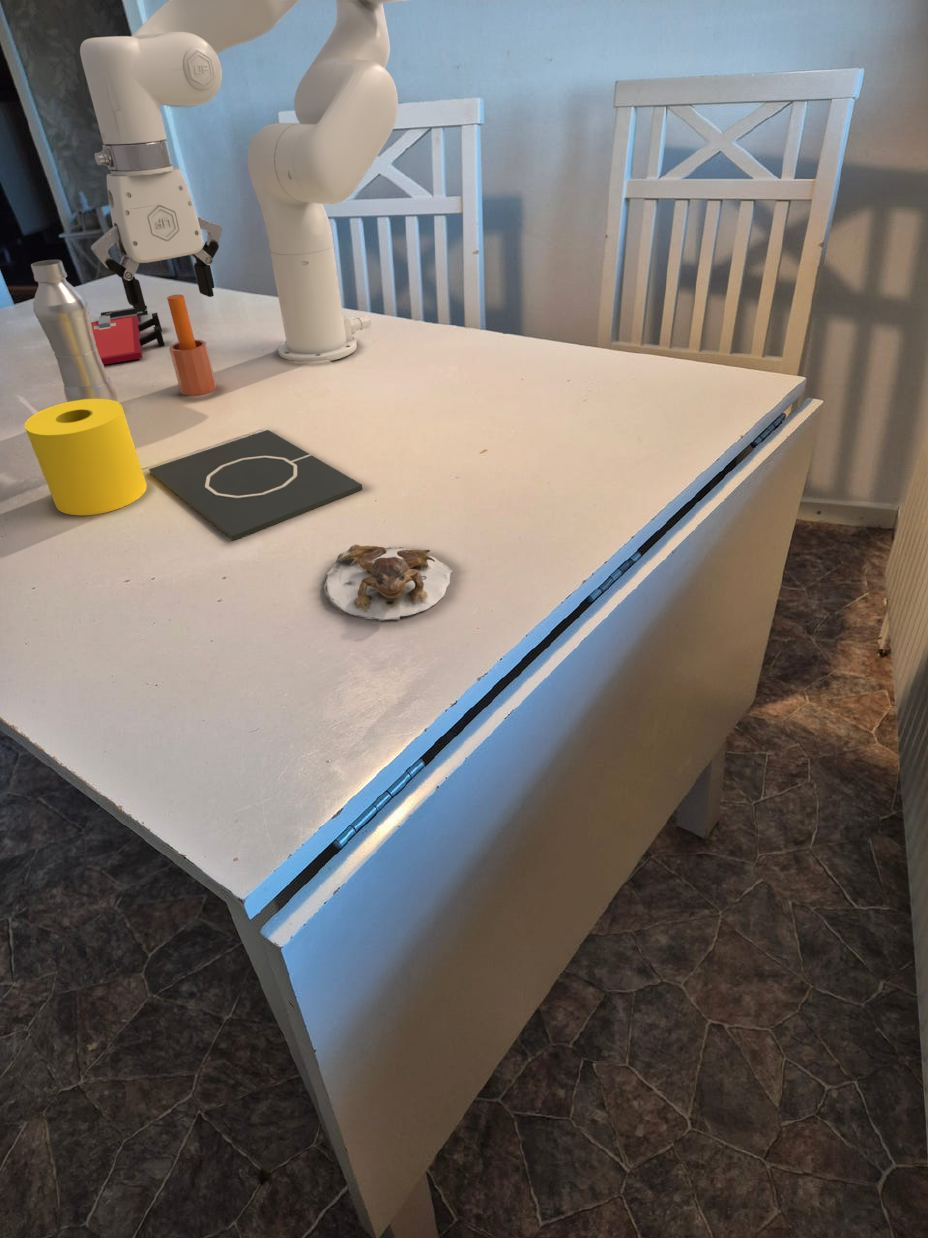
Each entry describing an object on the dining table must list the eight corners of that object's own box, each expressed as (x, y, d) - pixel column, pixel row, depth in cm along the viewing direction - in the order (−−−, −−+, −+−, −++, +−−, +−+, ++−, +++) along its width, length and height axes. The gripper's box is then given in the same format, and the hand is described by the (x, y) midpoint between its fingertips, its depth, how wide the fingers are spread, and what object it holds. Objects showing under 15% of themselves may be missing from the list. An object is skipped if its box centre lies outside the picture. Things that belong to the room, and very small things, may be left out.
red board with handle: (158, 308, 156) (76, 321, 153) (153, 293, 154) (71, 306, 151) (166, 356, 133) (70, 373, 130) (161, 339, 131) (64, 356, 128)
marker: (202, 385, 119) (179, 293, 112) (209, 389, 118) (186, 296, 110) (188, 389, 118) (164, 296, 110) (194, 393, 117) (170, 299, 109)
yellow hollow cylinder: (156, 497, 92) (132, 418, 86) (64, 524, 88) (32, 443, 82) (134, 467, 99) (111, 391, 93) (48, 490, 95) (18, 413, 89)
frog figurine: (466, 609, 71) (464, 572, 69) (329, 632, 69) (322, 595, 67) (441, 544, 80) (439, 510, 78) (320, 563, 78) (314, 528, 76)
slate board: (268, 433, 105) (267, 428, 104) (362, 489, 91) (362, 483, 90) (150, 473, 97) (148, 468, 97) (232, 540, 83) (231, 535, 82)
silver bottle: (106, 424, 110) (54, 269, 98) (62, 423, 112) (6, 269, 100) (131, 406, 115) (85, 256, 103) (89, 405, 117) (38, 257, 105)
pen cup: (208, 384, 121) (196, 337, 117) (223, 392, 118) (211, 344, 114) (176, 393, 119) (163, 345, 115) (190, 402, 115) (178, 353, 111)
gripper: (79, 169, 94) (121, 320, 104) (217, 152, 102) (244, 294, 112) (59, 164, 99) (101, 310, 109) (192, 149, 107) (220, 285, 117)
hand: (174, 302), depth 110 cm, fingers open, 9 cm apart
